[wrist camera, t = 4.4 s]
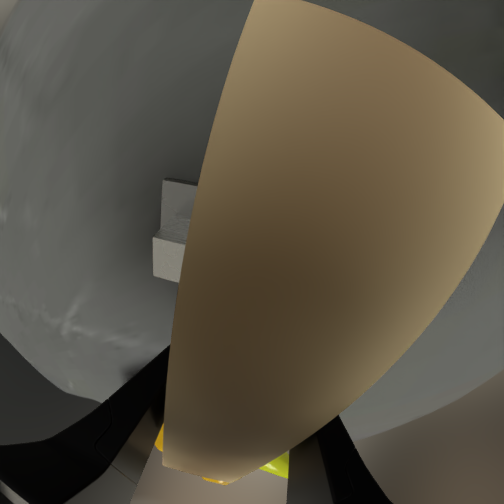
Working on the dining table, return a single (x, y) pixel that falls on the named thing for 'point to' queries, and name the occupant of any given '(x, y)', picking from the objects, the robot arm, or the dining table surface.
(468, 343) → the dining table surface
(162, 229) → the fulcrum stand
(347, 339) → the oak batten
